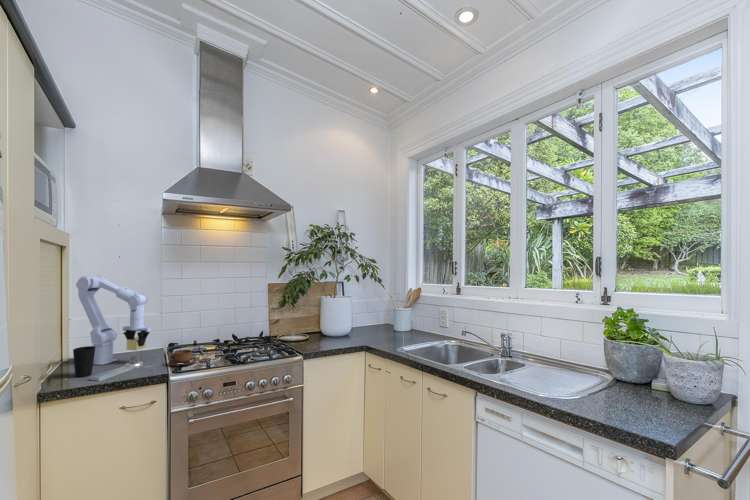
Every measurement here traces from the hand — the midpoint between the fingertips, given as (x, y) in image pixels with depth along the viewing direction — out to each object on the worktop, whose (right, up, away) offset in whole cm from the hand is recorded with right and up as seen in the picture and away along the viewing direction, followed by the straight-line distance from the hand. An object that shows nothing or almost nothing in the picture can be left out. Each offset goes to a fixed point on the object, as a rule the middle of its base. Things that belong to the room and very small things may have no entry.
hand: (136, 345), depth 172 cm
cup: (-10, -8, -20) cm, 23 cm away
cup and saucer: (+24, -9, -1) cm, 26 cm away
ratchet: (+2, -8, -15) cm, 17 cm away
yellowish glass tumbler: (0, -2, 0) cm, 2 cm away
